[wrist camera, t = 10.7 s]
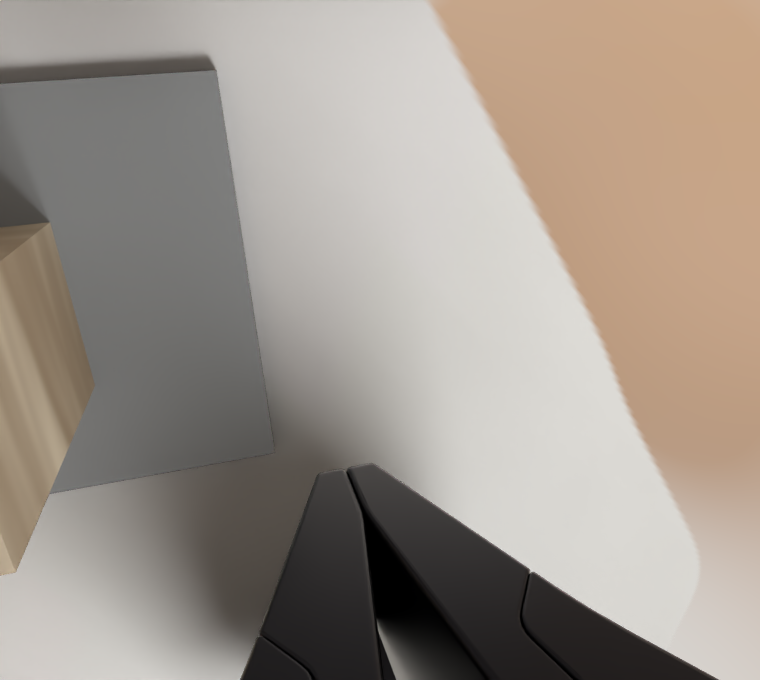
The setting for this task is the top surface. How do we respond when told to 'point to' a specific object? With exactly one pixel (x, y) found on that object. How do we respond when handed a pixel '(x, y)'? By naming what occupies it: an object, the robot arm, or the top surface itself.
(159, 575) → the top surface
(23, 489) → the domino
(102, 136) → the mat
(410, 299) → the top surface
